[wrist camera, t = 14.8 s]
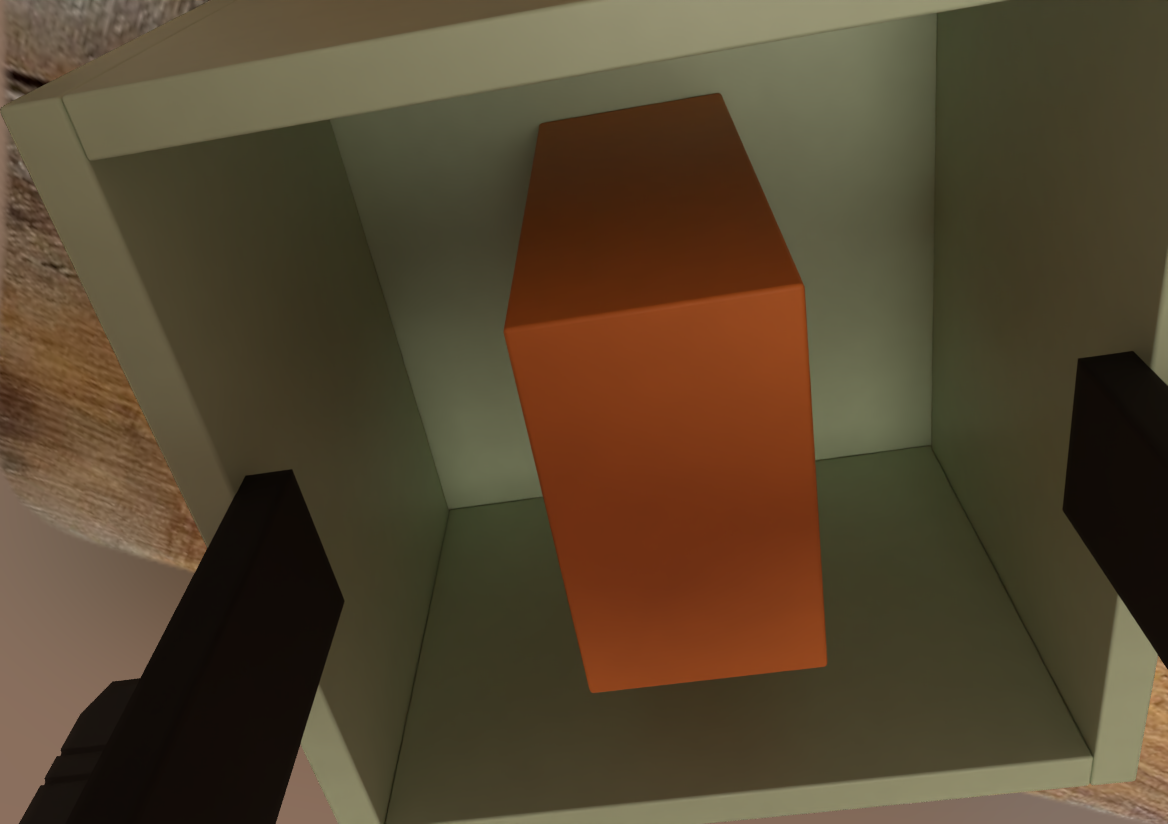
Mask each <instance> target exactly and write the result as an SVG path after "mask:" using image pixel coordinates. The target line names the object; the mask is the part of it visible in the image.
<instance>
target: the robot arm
mask: <svg viewBox="0 0 1168 824" xmlns="http://www.w3.org/2000/svg"><path fill="white" fill-rule="evenodd" d="M1062 510H1063V512H1064V513H1065V515H1066V516H1067V518H1068V520H1069V521H1070V523H1071V524H1072V526H1073V527H1074V529H1075V530H1076V532H1077V533H1078V535H1079V536H1080V538H1081V539H1082V541H1083V542H1084V544H1085V545H1086V547H1087V548H1088V550H1089V551H1090V553H1091V554H1092V556H1093V557H1094V559H1095V560H1096V562H1097V563H1098V565H1099V566H1100V568H1101V569H1102V571H1103V572H1104V574H1105V575H1106V577H1107V579H1108V580H1109V582H1110V583H1111V585H1112V586H1113V588H1114V589H1115V591H1116V592H1117V594H1118V595H1119V597H1120V598H1121V600H1122V601H1123V603H1124V604H1125V606H1126V607H1127V609H1128V610H1129V612H1130V613H1131V615H1132V616H1133V618H1134V619H1135V621H1136V622H1137V624H1138V625H1139V627H1140V628H1141V630H1142V631H1143V633H1144V634H1145V636H1146V638H1147V639H1148V641H1149V642H1150V644H1151V645H1152V647H1153V648H1154V650H1155V651H1156V653H1157V654H1158V656H1159V657H1160V659H1161V660H1162V662H1163V663H1164V665H1165V666H1166V668H1167V669H1168V385H1167V384H1166V383H1165V382H1164V381H1163V380H1162V379H1161V378H1160V377H1159V376H1158V375H1157V374H1156V373H1155V372H1154V371H1153V370H1152V369H1151V368H1150V367H1149V366H1148V365H1147V364H1146V363H1145V362H1144V361H1143V360H1142V359H1141V358H1140V357H1139V356H1138V355H1137V354H1136V353H1135V352H1134V351H1128V352H1121V353H1114V354H1107V355H1100V356H1092V357H1085V358H1078V362H1077V372H1076V381H1075V391H1074V401H1073V411H1072V420H1071V430H1070V440H1069V450H1068V460H1067V469H1066V479H1065V489H1064V499H1063V508H1062ZM344 602H345V600H344V598H343V595H342V593H341V590H340V588H339V585H338V583H337V580H336V578H335V575H334V573H333V570H332V568H331V565H330V563H329V560H328V558H327V555H326V553H325V550H324V547H323V545H322V542H321V540H320V537H319V535H318V532H317V530H316V527H315V525H314V522H313V520H312V517H311V515H310V512H309V510H308V507H307V505H306V502H305V500H304V497H303V495H302V492H301V490H300V487H299V485H298V482H297V480H296V477H295V475H294V472H293V470H292V469H289V470H282V471H275V472H268V473H261V474H254V475H246V476H245V477H244V479H243V481H242V483H241V485H240V487H239V489H238V491H237V493H236V494H235V496H234V498H233V500H232V502H231V504H230V506H229V508H228V510H227V512H226V514H225V515H224V517H223V519H222V521H221V523H220V525H219V527H218V529H217V531H216V533H215V535H214V537H213V539H212V541H211V543H210V544H209V546H208V548H207V550H206V552H205V554H204V556H203V558H202V560H201V562H200V564H199V566H198V568H197V570H196V572H195V574H194V575H193V577H192V579H191V581H190V583H189V585H188V587H187V589H186V591H185V593H184V595H183V597H182V599H181V601H180V603H179V605H178V606H177V608H176V610H175V612H174V614H173V616H172V618H171V620H170V622H169V624H168V626H167V628H166V630H165V632H164V634H163V635H162V637H161V640H160V641H159V643H158V645H157V647H156V649H155V651H154V653H153V655H152V657H151V659H150V661H149V663H148V665H147V666H146V668H145V670H144V673H143V674H142V676H141V678H139V679H131V680H123V681H115V682H112V683H111V684H110V685H109V686H108V687H107V688H106V689H105V690H104V691H103V692H102V693H101V694H100V695H99V696H98V697H97V698H96V699H95V700H94V701H93V702H92V703H91V704H90V705H89V706H88V707H87V708H86V709H85V710H84V711H83V712H82V713H81V714H80V716H79V718H78V720H77V721H76V723H75V725H74V727H73V728H72V730H71V732H70V734H69V736H68V737H67V739H66V741H65V743H64V744H63V746H62V748H61V756H57V757H56V759H55V760H54V763H53V764H52V766H51V768H50V770H49V771H48V773H47V775H46V777H45V785H41V786H40V787H39V789H38V791H37V793H36V794H35V796H34V798H33V800H32V802H31V803H30V805H29V807H28V809H27V810H26V812H25V814H24V816H23V818H22V819H21V821H20V823H19V824H276V821H277V817H278V814H279V811H280V808H281V804H282V801H283V798H284V795H285V792H286V788H287V785H288V782H289V779H290V776H291V772H292V769H293V766H294V763H295V759H296V756H297V753H298V750H299V747H300V743H301V740H302V737H303V734H304V731H305V727H306V724H307V721H308V718H309V714H310V711H311V708H312V705H313V702H314V698H315V695H316V692H317V689H318V686H319V682H320V679H321V676H322V673H323V670H324V666H325V663H326V660H327V657H328V653H329V650H330V647H331V644H332V641H333V637H334V634H335V631H336V628H337V625H338V621H339V618H340V615H341V612H342V608H343V605H344Z"/></svg>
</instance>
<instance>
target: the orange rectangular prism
mask: <svg viewBox="0 0 1168 824" xmlns="http://www.w3.org/2000/svg"><path fill="white" fill-rule="evenodd" d="M503 333H504V337H505V341H506V345H507V349H508V353H509V358H510V362H511V366H512V370H513V374H514V378H515V383H516V387H517V391H518V395H519V399H520V403H521V408H522V412H523V416H524V420H525V424H526V428H527V433H528V437H529V441H530V445H531V449H532V453H533V458H534V462H535V466H536V470H537V474H538V478H539V483H540V487H541V491H542V495H543V499H544V503H545V507H546V512H547V516H548V520H549V524H550V528H551V532H552V537H553V541H554V545H555V549H556V553H557V557H558V562H559V566H560V570H561V574H562V578H563V582H564V587H565V591H566V595H567V599H568V603H569V607H570V612H571V616H572V620H573V624H574V628H575V632H576V636H577V641H578V645H579V649H580V653H581V657H582V661H583V666H584V670H585V674H586V678H587V682H588V686H589V690H590V691H591V693H598V692H607V691H616V690H625V689H633V688H642V687H651V686H660V685H669V684H677V683H686V682H695V681H704V680H713V679H721V678H730V677H739V676H748V675H757V674H765V673H774V672H783V671H792V670H801V669H809V668H818V667H825V666H826V665H827V645H826V629H825V612H824V596H823V580H822V563H821V547H820V530H819V514H818V497H817V481H816V465H815V448H814V432H813V415H812V399H811V382H810V366H809V349H808V333H807V317H806V300H805V286H804V284H803V282H802V279H801V277H800V275H799V272H798V270H797V268H796V265H795V263H794V261H793V259H792V256H791V254H790V252H789V249H788V247H787V245H786V242H785V240H784V238H783V235H782V233H781V231H780V229H779V226H778V224H777V222H776V219H775V217H774V215H773V212H772V210H771V208H770V206H769V203H768V201H767V199H766V196H765V194H764V192H763V189H762V187H761V185H760V182H759V180H758V178H757V176H756V173H755V171H754V169H753V166H752V164H751V162H750V159H749V157H748V155H747V153H746V150H745V148H744V146H743V143H742V141H741V139H740V136H739V134H738V132H737V130H736V127H735V125H734V123H733V120H732V118H731V116H730V113H729V111H728V109H727V106H726V104H725V102H724V100H723V97H722V95H721V94H720V93H716V94H710V95H704V96H698V97H692V98H686V99H681V100H675V101H669V102H663V103H657V104H651V105H646V106H640V107H634V108H628V109H622V110H616V111H610V112H605V113H599V114H593V115H587V116H581V117H575V118H570V119H564V120H558V121H552V122H546V123H541V124H540V125H539V131H538V136H537V142H536V148H535V154H534V159H533V165H532V171H531V176H530V182H529V188H528V194H527V199H526V205H525V211H524V217H523V222H522V228H521V234H520V240H519V245H518V251H517V257H516V262H515V268H514V274H513V280H512V285H511V291H510V297H509V303H508V308H507V314H506V320H505V325H504V331H503Z"/></svg>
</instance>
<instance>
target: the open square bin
mask: <svg viewBox="0 0 1168 824" xmlns="http://www.w3.org/2000/svg"><path fill="white" fill-rule="evenodd" d="M716 93H720V94H721V95H722V97H723V100H724V102H725V104H726V106H727V109H728V111H729V113H730V116H731V118H732V120H733V123H734V125H735V127H736V130H737V132H738V134H739V136H740V139H741V141H742V143H743V146H744V148H745V150H746V153H747V155H748V157H749V159H750V162H751V164H752V166H753V169H754V171H755V173H756V176H757V178H758V180H759V182H760V185H761V187H762V189H763V192H764V194H765V196H766V199H767V201H768V203H769V206H770V208H771V210H772V212H773V215H774V217H775V219H776V222H777V224H778V226H779V229H780V231H781V233H782V235H783V238H784V240H785V242H786V245H787V247H788V249H789V252H790V254H791V256H792V259H793V261H794V263H795V265H796V268H797V270H798V272H799V275H800V277H801V279H802V282H803V284H804V286H805V300H806V317H807V333H808V349H809V366H810V382H811V399H812V415H813V432H814V448H815V465H816V481H817V497H818V514H819V530H820V547H821V563H822V580H823V596H824V612H825V629H826V645H827V665H826V666H825V667H818V668H809V669H801V670H792V671H783V672H774V673H765V674H757V675H748V676H739V677H730V678H721V679H713V680H704V681H695V682H686V683H677V684H669V685H660V686H651V687H642V688H633V689H625V690H616V691H607V692H598V693H591V691H590V690H589V686H588V682H587V678H586V674H585V670H584V666H583V661H582V657H581V653H580V649H579V645H578V641H577V636H576V632H575V628H574V624H573V620H572V616H571V612H570V607H569V603H568V599H567V595H566V591H565V587H564V582H563V578H562V574H561V570H560V566H559V562H558V557H557V553H556V549H555V545H554V541H553V537H552V532H551V528H550V524H549V520H548V516H547V512H546V507H545V503H544V499H543V495H542V491H541V487H540V483H539V478H538V474H537V470H536V466H535V462H534V458H533V453H532V449H531V445H530V441H529V437H528V433H527V428H526V424H525V420H524V416H523V412H522V408H521V403H520V399H519V395H518V391H517V387H516V383H515V378H514V374H513V370H512V366H511V362H510V358H509V353H508V349H507V345H506V341H505V337H504V333H503V331H504V325H505V320H506V314H507V308H508V303H509V297H510V291H511V285H512V280H513V274H514V268H515V262H516V257H517V251H518V245H519V240H520V234H521V228H522V222H523V217H524V211H525V205H526V199H527V194H528V188H529V182H530V176H531V171H532V165H533V159H534V154H535V148H536V142H537V136H538V131H539V125H540V124H541V123H546V122H552V121H558V120H564V119H570V118H575V117H581V116H587V115H593V114H599V113H605V112H610V111H616V110H622V109H628V108H634V107H640V106H646V105H651V104H657V103H663V102H669V101H675V100H681V99H686V98H692V97H698V96H704V95H710V94H716ZM0 112H1V115H2V117H3V119H4V121H5V123H6V126H7V128H8V130H9V132H10V134H11V136H12V138H13V140H14V142H15V144H16V147H17V149H18V151H19V153H20V155H21V157H22V159H23V161H24V163H25V165H26V168H27V170H28V172H29V174H30V176H31V178H32V180H33V182H34V184H35V187H36V189H37V191H38V193H39V195H40V197H41V199H42V201H43V203H44V205H45V208H46V210H47V212H48V214H49V216H50V218H51V220H52V222H53V224H54V227H55V229H56V231H57V233H58V235H59V237H60V239H61V241H62V243H63V245H64V248H65V250H66V252H67V254H68V256H69V258H70V260H71V262H72V264H73V266H74V269H75V271H76V273H77V275H78V277H79V279H80V281H81V283H82V285H83V288H84V290H85V292H86V294H87V296H88V298H89V300H90V302H91V304H92V306H93V309H94V311H95V313H96V315H97V317H98V319H99V321H100V323H101V325H102V328H103V330H104V332H105V334H106V336H107V338H108V340H109V342H110V344H111V346H112V349H113V351H114V353H115V355H116V357H117V359H118V361H119V363H120V365H121V367H122V370H123V372H124V374H125V376H126V378H127V380H128V382H129V384H130V386H131V389H132V391H133V393H134V395H135V397H136V399H137V401H138V403H139V405H140V407H141V410H142V412H143V414H144V416H145V418H146V420H147V422H148V424H149V426H150V429H151V431H152V433H153V435H154V437H155V439H156V441H157V443H158V445H159V447H160V450H161V452H162V454H163V456H164V458H165V460H166V462H167V464H168V466H169V468H170V471H171V473H172V475H173V477H174V479H175V481H176V483H177V485H178V487H179V490H180V492H181V494H182V496H183V498H184V500H185V502H186V504H187V506H188V508H189V511H190V513H191V515H192V517H193V519H194V521H195V523H196V525H197V527H198V530H199V532H200V534H201V536H202V538H203V540H204V542H205V544H206V546H207V548H208V546H209V544H210V543H211V541H212V539H213V537H214V535H215V533H216V531H217V529H218V527H219V525H220V523H221V521H222V519H223V517H224V515H225V514H226V512H227V510H228V508H229V506H230V504H231V502H232V500H233V498H234V496H235V494H236V493H237V491H238V489H239V487H240V485H241V483H242V481H243V479H244V477H245V476H246V475H254V474H261V473H268V472H275V471H282V470H289V469H292V470H293V472H294V475H295V477H296V480H297V482H298V485H299V487H300V490H301V492H302V495H303V497H304V500H305V502H306V505H307V507H308V510H309V512H310V515H311V517H312V520H313V522H314V525H315V527H316V530H317V532H318V535H319V537H320V540H321V542H322V545H323V547H324V550H325V553H326V555H327V558H328V560H329V563H330V565H331V568H332V570H333V573H334V575H335V578H336V580H337V583H338V585H339V588H340V590H341V593H342V595H343V598H344V600H345V602H344V605H343V608H342V612H341V615H340V618H339V621H338V625H337V628H336V631H335V634H334V637H333V641H332V644H331V647H330V650H329V653H328V657H327V660H326V663H325V666H324V670H323V673H322V676H321V679H320V682H319V686H318V689H317V692H316V695H315V698H314V702H313V705H312V708H311V711H310V714H309V718H308V721H307V724H306V727H305V731H304V734H303V737H302V740H301V743H300V744H301V746H302V748H303V750H304V753H305V754H306V757H307V759H308V761H309V763H310V765H311V767H312V769H313V772H314V774H315V776H316V778H317V780H318V782H319V784H320V786H321V788H322V790H323V792H324V795H325V797H326V799H327V801H328V803H329V805H330V807H331V809H332V811H333V814H334V816H335V818H336V820H337V822H338V824H706V823H717V822H727V821H736V820H747V819H756V818H766V817H777V816H786V815H797V814H807V813H817V812H827V811H837V810H847V809H858V808H867V807H877V806H887V805H897V804H908V803H917V802H928V801H938V800H948V799H957V798H968V797H978V796H988V795H998V794H1009V793H1019V792H1029V791H1039V790H1049V789H1059V788H1069V787H1079V786H1087V785H1089V783H1090V784H1091V785H1101V784H1111V783H1121V782H1131V781H1135V780H1136V774H1137V769H1138V763H1139V758H1140V752H1141V747H1142V741H1143V736H1144V730H1145V725H1146V719H1147V714H1148V708H1149V703H1150V697H1151V692H1152V686H1153V681H1154V675H1155V669H1156V664H1157V658H1158V654H1157V653H1156V651H1155V650H1154V648H1153V647H1152V645H1151V644H1150V642H1149V641H1148V639H1147V638H1146V636H1145V634H1144V633H1143V631H1142V630H1141V628H1140V627H1139V625H1138V624H1137V622H1136V621H1135V619H1134V618H1133V616H1132V615H1131V613H1130V612H1129V610H1128V609H1127V607H1126V606H1125V604H1124V603H1123V601H1122V600H1121V598H1120V597H1119V595H1118V594H1117V592H1116V591H1115V589H1114V588H1113V586H1112V585H1111V583H1110V582H1109V580H1108V579H1107V577H1106V575H1105V574H1104V572H1103V571H1102V569H1101V568H1100V566H1099V565H1098V563H1097V562H1096V560H1095V559H1094V557H1093V556H1092V554H1091V553H1090V551H1089V550H1088V548H1087V547H1086V545H1085V544H1084V542H1083V541H1082V539H1081V538H1080V536H1079V535H1078V533H1077V532H1076V530H1075V529H1074V527H1073V526H1072V524H1071V523H1070V521H1069V520H1068V518H1067V516H1066V515H1065V513H1064V512H1063V510H1062V508H1063V499H1064V489H1065V479H1066V469H1067V460H1068V450H1069V440H1070V430H1071V420H1072V411H1073V401H1074V391H1075V381H1076V372H1077V362H1078V358H1085V357H1092V356H1100V355H1107V354H1114V353H1121V352H1128V351H1134V352H1135V353H1136V354H1137V355H1138V356H1139V357H1140V358H1141V359H1142V360H1143V361H1144V362H1145V363H1146V364H1147V365H1148V366H1149V367H1150V368H1151V369H1152V370H1153V371H1154V372H1155V373H1156V374H1157V375H1158V376H1159V377H1160V378H1161V379H1162V380H1163V381H1164V382H1165V383H1166V384H1167V385H1168V0H210V1H208V2H206V3H204V4H202V5H200V6H198V7H197V8H195V9H193V10H191V11H189V12H187V13H185V14H183V15H181V16H179V17H177V18H175V19H173V20H171V21H169V22H167V23H165V24H163V25H161V26H159V27H157V28H155V29H153V30H151V31H149V32H147V33H145V34H143V35H142V36H140V37H138V38H136V39H134V40H132V41H130V42H128V43H126V44H124V45H122V46H120V47H118V48H116V49H114V50H112V51H110V52H108V53H106V54H104V55H102V56H100V57H98V58H96V59H94V60H92V61H90V62H88V63H86V64H85V65H83V66H81V67H79V68H77V69H75V70H73V71H71V72H69V73H67V74H65V75H63V76H61V77H59V78H57V79H55V80H53V81H51V82H49V83H47V84H45V85H43V86H41V87H39V88H37V89H35V90H33V91H31V92H29V93H28V94H26V95H24V96H22V97H20V98H18V99H16V100H14V101H12V102H10V103H8V104H6V105H4V106H3V107H1V109H0Z"/></svg>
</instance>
